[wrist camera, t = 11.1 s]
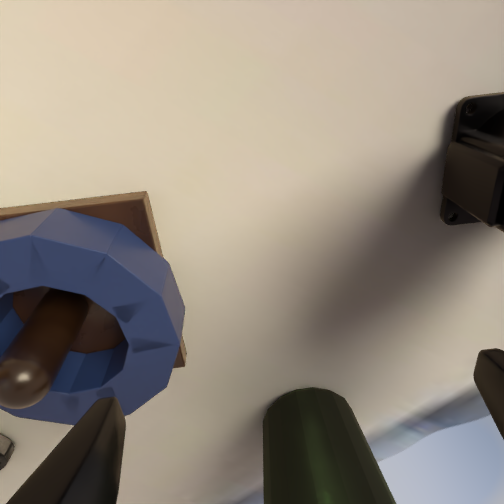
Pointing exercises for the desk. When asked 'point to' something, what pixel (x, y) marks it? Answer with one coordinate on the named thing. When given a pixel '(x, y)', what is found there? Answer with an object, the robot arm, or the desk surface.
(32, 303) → the post
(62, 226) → the ring
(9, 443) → the phone
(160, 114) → the desk surface
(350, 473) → the potion bottle
